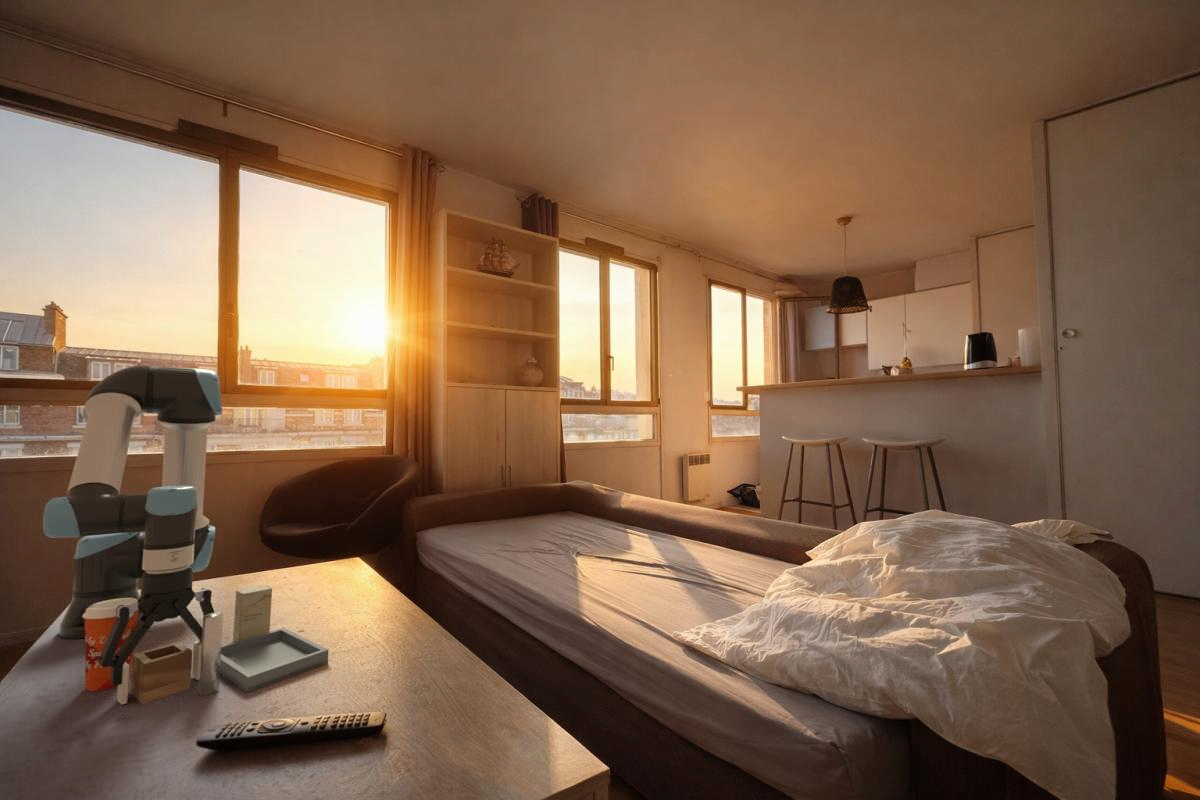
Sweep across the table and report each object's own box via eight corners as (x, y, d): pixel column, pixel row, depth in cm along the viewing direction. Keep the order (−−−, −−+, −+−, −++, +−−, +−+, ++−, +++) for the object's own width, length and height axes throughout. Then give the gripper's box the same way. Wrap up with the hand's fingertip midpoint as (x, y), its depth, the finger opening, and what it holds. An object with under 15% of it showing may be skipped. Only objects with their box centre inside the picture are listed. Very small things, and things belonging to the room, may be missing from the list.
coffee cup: (68, 698, 93) (74, 613, 94) (87, 678, 101) (93, 600, 101) (129, 688, 97) (134, 606, 98) (143, 669, 104) (148, 594, 105)
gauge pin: (196, 692, 96) (200, 615, 97) (215, 686, 98) (219, 611, 99) (202, 697, 94) (206, 619, 95) (221, 690, 97) (225, 614, 97)
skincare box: (238, 650, 114) (241, 594, 115) (231, 644, 117) (234, 590, 118) (270, 641, 119) (273, 587, 120) (263, 636, 122) (266, 584, 123)
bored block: (130, 692, 96) (132, 654, 96) (177, 678, 102) (179, 641, 102) (142, 704, 92) (144, 664, 92) (190, 688, 98) (192, 650, 98)
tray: (205, 663, 108) (206, 649, 108) (283, 640, 120) (283, 627, 120) (247, 692, 96) (248, 677, 96) (327, 663, 108) (328, 649, 109)
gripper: (90, 586, 86) (80, 723, 85) (245, 559, 105) (239, 671, 104) (79, 579, 91) (70, 709, 89) (229, 554, 110) (224, 661, 108)
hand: (161, 689), depth 97 cm, fingers open, 10 cm apart
